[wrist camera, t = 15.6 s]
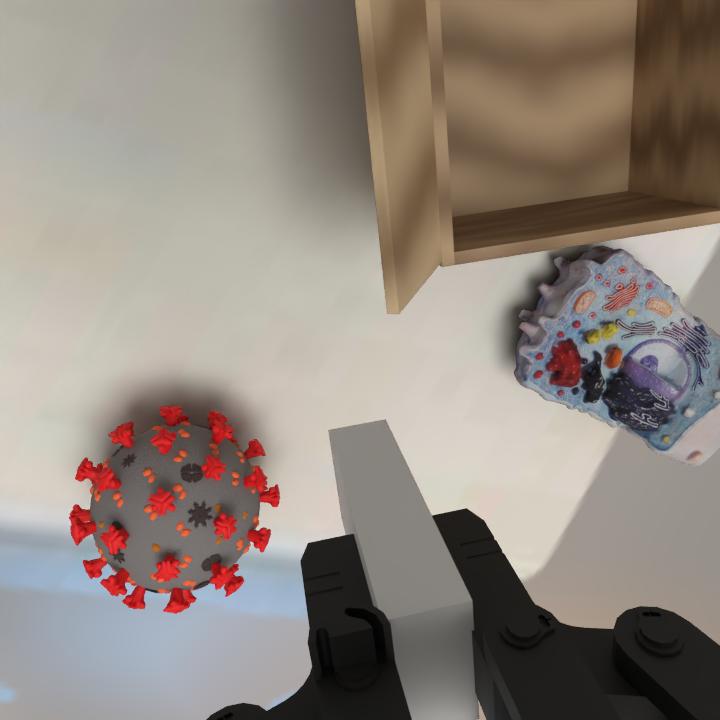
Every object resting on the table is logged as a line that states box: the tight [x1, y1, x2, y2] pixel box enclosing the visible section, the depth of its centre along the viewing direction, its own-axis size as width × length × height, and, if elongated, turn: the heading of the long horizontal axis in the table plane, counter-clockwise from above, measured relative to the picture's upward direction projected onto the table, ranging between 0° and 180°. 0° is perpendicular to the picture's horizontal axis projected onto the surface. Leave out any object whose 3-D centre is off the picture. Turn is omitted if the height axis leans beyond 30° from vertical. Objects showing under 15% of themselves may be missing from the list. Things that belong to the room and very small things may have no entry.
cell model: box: [514, 246, 720, 466], centre depth 51 cm, size 13×11×20 cm
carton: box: [425, 0, 720, 267], centre depth 40 cm, size 24×20×12 cm
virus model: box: [69, 405, 280, 613], centre depth 46 cm, size 14×15×15 cm
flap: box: [355, 0, 442, 314], centre depth 30 cm, size 23×10×1 cm
